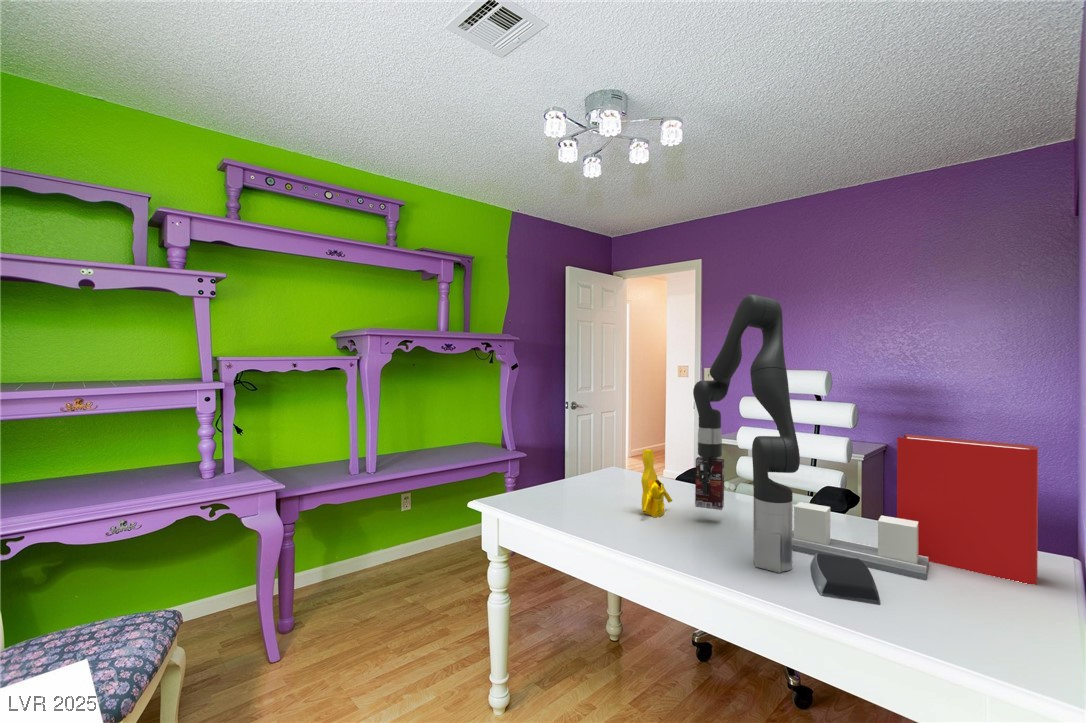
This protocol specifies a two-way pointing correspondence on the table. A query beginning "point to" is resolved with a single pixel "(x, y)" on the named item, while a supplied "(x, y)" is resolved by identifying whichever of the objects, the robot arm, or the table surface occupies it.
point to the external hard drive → (843, 578)
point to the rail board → (890, 555)
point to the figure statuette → (652, 488)
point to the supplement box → (711, 486)
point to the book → (972, 503)
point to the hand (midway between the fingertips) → (709, 492)
